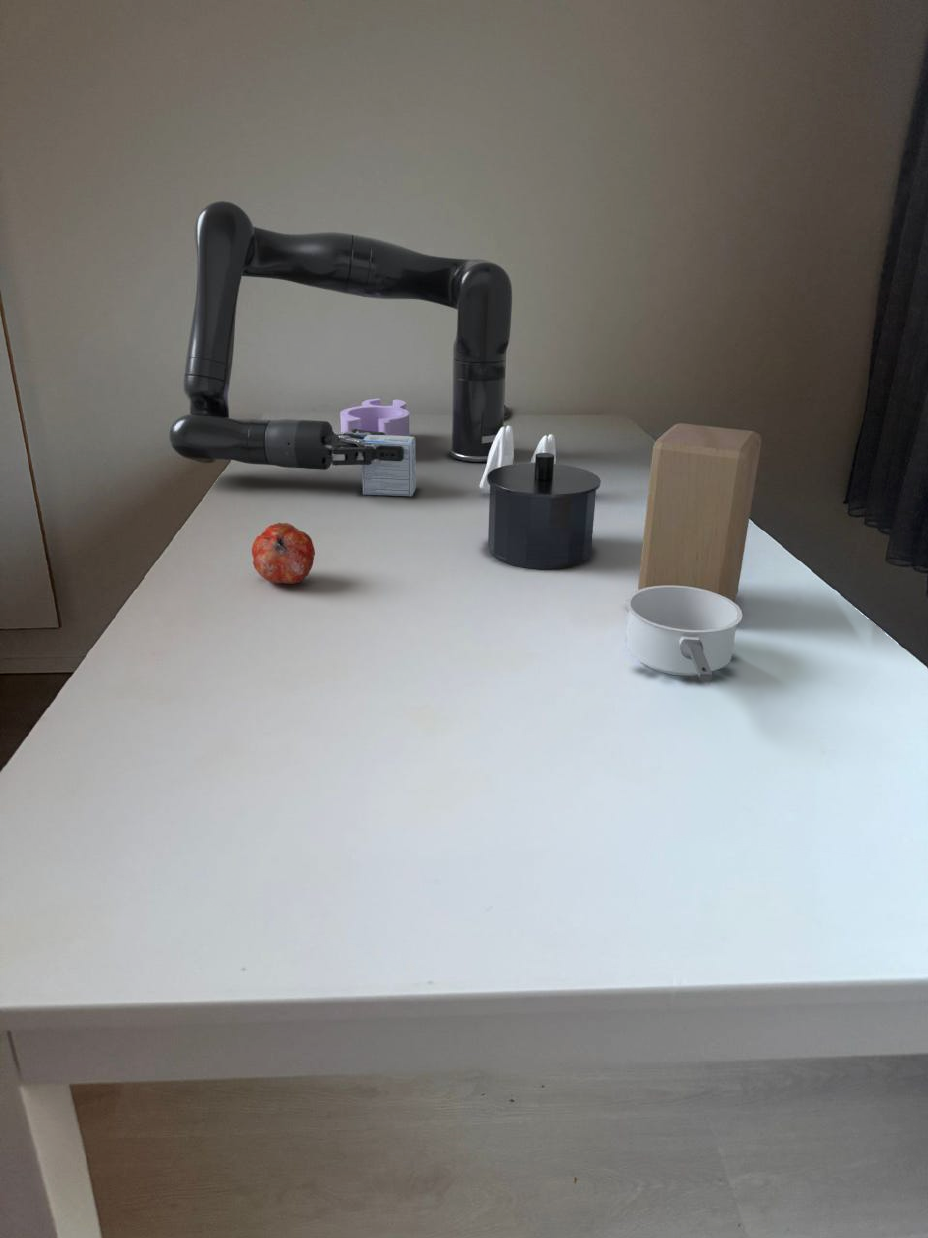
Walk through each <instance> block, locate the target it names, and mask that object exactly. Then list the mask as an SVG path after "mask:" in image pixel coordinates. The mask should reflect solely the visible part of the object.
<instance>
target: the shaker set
mask: <svg viewBox="0 0 928 1238" xmlns="http://www.w3.org/2000/svg"><path fill="white" fill-rule="evenodd" d="M514 445H515V444H514V431H513V427H512V426H511V425H507V426H506V427H505V426H504V427H502V428H501V429H500V430H499V432H498V434H497V435H496V437H495V440H494V442H493V444H492V447H491V449H490V452H489V455H488V461H487V462H486V466H485V469H484V472H483V475H482V477H481V480H480V482H479V488H480V489H481V491H483V492H484V493H485V494H488V495H490V485H489V483H488V481H487V475H488V473H489V472H490V471H492V470H494V469H496V468H499V467H502V466H507V465H513V464H514V457H515V456H514V455H515V448H514V447H515V446H514ZM537 453H551V454H553V455H554V464H557V462H556V461H557V459H556V458H557V455H556V438H555V435H554V434H552V433H550V434H549V435H543V436H542V438H541V439H540V441H539V443H538V444H537V446H536V448H535V450H534V453H533V455H532V457H531V461H530V463H535V456H536V454H537Z"/></svg>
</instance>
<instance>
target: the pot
mask: <svg viewBox="0 0 928 1238" xmlns="http://www.w3.org/2000/svg"><path fill="white" fill-rule="evenodd" d="M596 493H597V490H596V491H594V492H592V493H589V494H586V495H582V496H576V497H568V498H535V497H525V496H519V495H514V494H510V493H506V492H503V491H500V490H498V489H495V488H494V487H492V486H491V485H490V494H489V502H488V503H489V505H488V506H489V507H488V533H487V535H488V536H487V548H488V552H489V554H490V555H491V556H492V557H493V558H495V559H496V560H498V561H500V562H502V563H505V564H508V565H511V566H515V567H519V568H526V569H532V570H533V569H534V570H557V569H559V570H560V569H565V568H571V567H575V566H578V565H580V564H583V563H585V562H586V561H587V560H589V558H590V557H591V554H592V546H593V534H594V533H593V532H594V520H595V510H596V508H595V507H596V498H597V496H596V495H597V494H596Z"/></svg>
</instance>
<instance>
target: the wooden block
mask: <svg viewBox="0 0 928 1238" xmlns="http://www.w3.org/2000/svg"><path fill="white" fill-rule="evenodd" d="M761 438H762V437H761V435H760V434H759V433H758V432H756V431H755V430H745V429H736V428H727V427H720V426H710V425H701V424H692V423H685V422H684V423H683V422H680V423H676V424H673V425H672V426H671V427H670V428H669V429H668V430H666V431H665V432H664V433H663V434H662V435H660V436H659V437H658V438H657V439H656V440H655V442H654V444H653V446H652V455H651V464H650V473H649V481H648V483H649V484H648V493H647V500H646V501H647V502H646V511H645V520H644V521H645V522H644V528H643V539H642V545H641V555H640V556H641V557H640V565H639V575H638V582H637V583H638V585H637V591H638V590H640V589H644V588H647V587H653V586H665V585H666V586H686V587H693V588H699V589H703V590H707V591H710V592H714V593H717V594H719V595H721V596H724V597H726V598H728V599H729V600H731V601H733V602H734V601H735V599H736V597H737V595H738V592H739V587H740V580H741V573H742V566H743V561H744V555H745V549H746V542H747V535H748V529H749V523H750V518H751V517H750V516H751V511H752V504H753V498H754V492H755V485H756V479H757V473H758V468H759V467H758V466H759V460H760V454H761V448H762V439H761Z"/></svg>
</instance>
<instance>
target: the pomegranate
mask: <svg viewBox="0 0 928 1238" xmlns="http://www.w3.org/2000/svg"><path fill="white" fill-rule="evenodd" d="M313 543H314V542H313V539H312V537H311V536H310V535H309V534H308V533H306V532H305V531H302V530H300V529H298V528H297V527H295V526H294V525H292V524H290V523H288V522H277V523H274V524H271V525H268V526H267V527H266V528H265V529H264V530H263V532H261V534H260V535H257V536H256V538H255V539H254V541H253V544H252V547H251V556H252V559H253V560H252V563H253V566H254V570H256V572H257V573H258V574H259V575H260V577H262V578H263V579H264V580H266V581H268V582H269V583H271V584H286V585H287V584H288V585H295V584H298V583H300V582H302V581H304V579H306V578H307V577H308V576H309V574H310V572H311V570H312V568H313V565H314V562H315V561H314V560H315V556H316V551H315V547H314V544H313Z"/></svg>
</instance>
